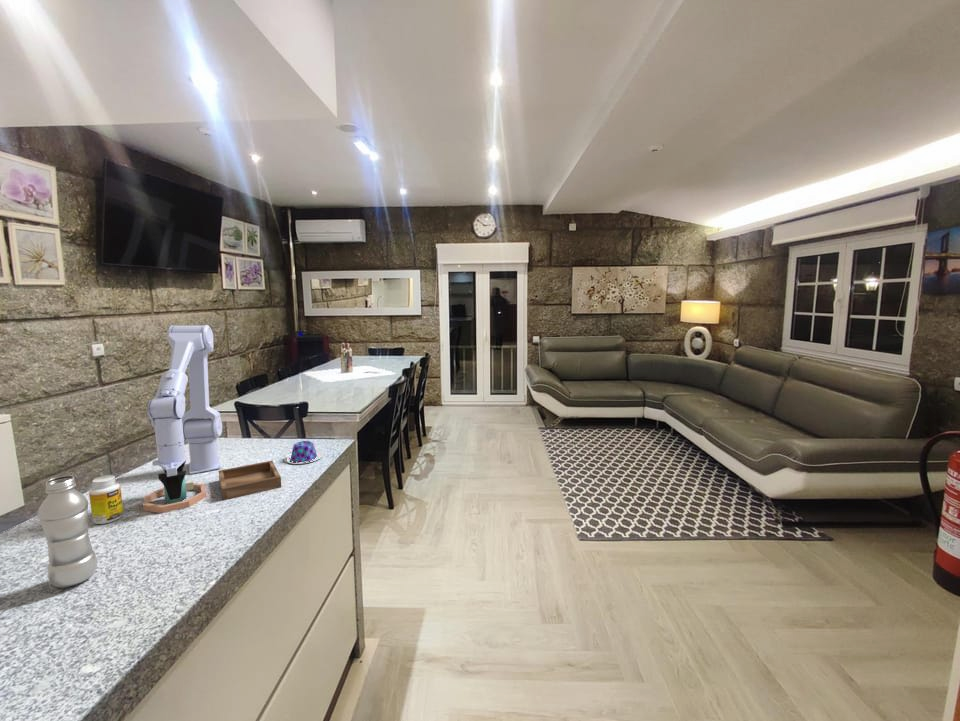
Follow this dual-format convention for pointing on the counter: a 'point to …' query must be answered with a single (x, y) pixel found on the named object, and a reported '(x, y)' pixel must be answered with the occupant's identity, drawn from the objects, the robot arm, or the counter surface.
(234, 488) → the tray
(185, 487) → the teal tapered cylinder
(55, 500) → the plastic bottle
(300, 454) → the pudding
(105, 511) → the supplement bottle
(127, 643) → the counter surface
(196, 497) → the collar
